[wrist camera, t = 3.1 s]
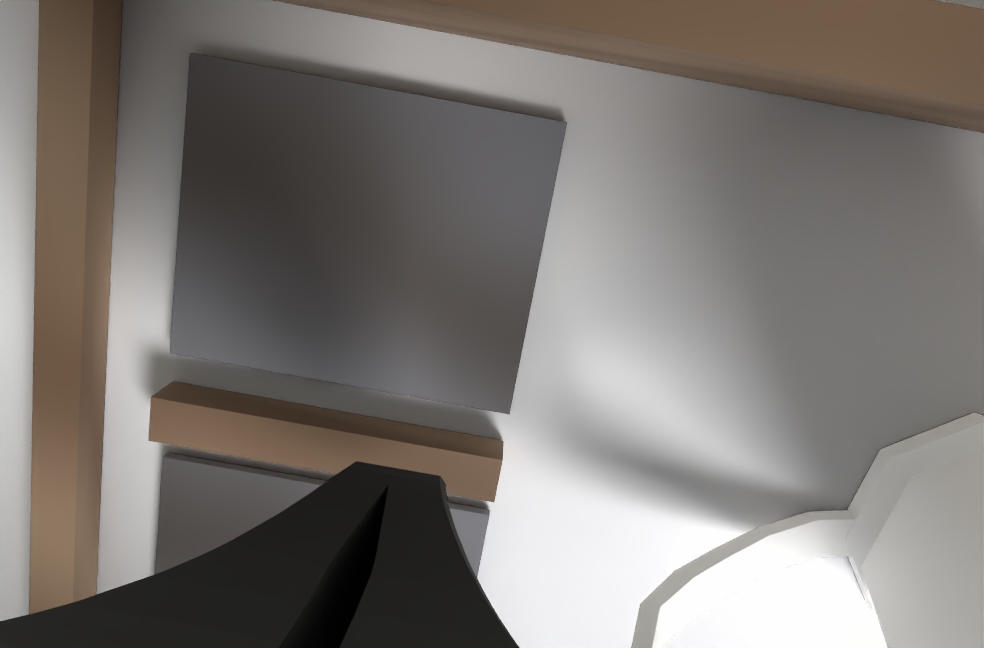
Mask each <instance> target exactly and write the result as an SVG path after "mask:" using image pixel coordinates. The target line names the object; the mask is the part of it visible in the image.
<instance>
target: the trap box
mask: <svg viewBox="0 0 984 648" xmlns="http://www.w3.org/2000/svg"><path fill="white" fill-rule="evenodd" d="M274 1H280V2H285V3H290V4H296V5H301V6H306V7H312V8H317V9H323V10H328V11H333V12H339V13H344V14H349V15H355V16H360V17H365V18H371V19H376V20H382V21H387V22H392V23H398V24H403V25H408V26H414V27H419V28H425V29H430V30H435V31H441V32H446V33H451V34H457V35H462V36H467V37H473V38H478V39H484V40H489V41H494V42H500V43H505V44H510V45H516V46H521V47H526V48H532V49H537V50H543V51H548V52H553V53H559V54H564V55H569V56H575V57H580V58H585V59H591V60H596V61H602V62H607V63H612V64H618V65H623V66H628V67H634V68H639V69H644V70H650V71H655V72H661V73H666V74H671V75H677V76H682V77H687V78H693V79H698V80H704V81H709V82H714V83H720V84H725V85H730V86H736V87H741V88H746V89H752V90H757V91H763V92H768V93H773V94H779V95H784V96H789V97H795V98H800V99H805V100H811V101H816V102H822V103H827V104H832V105H838V106H843V107H848V108H854V109H859V110H864V111H870V112H875V113H881V114H886V115H891V116H897V117H902V118H907V119H913V120H918V121H923V122H929V123H934V124H940V125H945V126H950V127H956V128H961V129H966V130H972V131H977V132H982V133H984V10H983V9H978V8H972V7H967V6H962V5H956V4H951V3H946V2H941V1H935V0H274ZM121 18H122V0H39V51H38V111H37V171H36V232H35V292H34V352H33V412H32V473H31V533H30V593H29V614H33V613H37V612H40V611H44V610H48V609H51V608H55V607H58V606H62V605H66V604H69V603H73V602H76V601H79V600H82V599H85V598H88V597H91V596H94V595H96V589H97V566H98V543H99V520H100V497H101V475H102V452H103V429H104V406H105V383H106V361H107V338H108V315H109V292H110V269H111V246H112V224H113V201H114V178H115V155H116V132H117V110H118V87H119V64H120V41H121ZM566 125H567V122H562V121H557V120H551V119H546V118H541V117H535V116H530V115H524V114H519V113H514V112H508V111H503V110H497V109H492V108H487V107H481V106H476V105H470V104H465V103H460V102H454V101H449V100H443V99H438V98H433V97H427V96H422V95H416V94H411V93H406V92H400V91H395V90H389V89H384V88H379V87H373V86H368V85H362V84H357V83H352V82H346V81H341V80H335V79H330V78H325V77H319V76H314V75H308V74H303V73H298V72H292V71H287V70H281V69H276V68H271V67H265V66H260V65H254V64H249V63H244V62H238V61H233V60H227V59H222V58H217V57H211V56H206V55H200V54H195V53H190V59H189V74H188V88H187V103H186V118H185V133H184V148H183V163H182V178H181V193H180V208H179V222H178V237H177V252H176V267H175V282H174V297H173V312H172V327H171V342H170V353H171V354H177V355H182V356H188V357H194V358H199V359H205V360H210V361H216V362H221V363H227V364H233V365H238V366H244V367H249V368H255V369H260V370H266V371H272V372H277V373H283V374H288V375H294V376H299V377H305V378H310V379H316V380H322V381H327V382H333V383H338V384H344V385H349V386H355V387H361V388H366V389H372V390H377V391H383V392H388V393H394V394H399V395H405V396H411V397H416V398H422V399H427V400H433V401H438V402H444V403H450V404H455V405H461V406H466V407H472V408H477V409H483V410H489V411H494V412H500V413H505V414H509V413H510V408H511V403H512V398H513V393H514V388H515V383H516V378H517V373H518V368H519V363H520V357H521V352H522V347H523V342H524V337H525V332H526V327H527V322H528V317H529V312H530V307H531V302H532V297H533V292H534V287H535V282H536V277H537V272H538V266H539V261H540V256H541V251H542V246H543V241H544V236H545V231H546V226H547V221H548V216H549V211H550V206H551V201H552V196H553V191H554V186H555V181H556V175H557V170H558V165H559V160H560V155H561V150H562V145H563V140H564V135H565V130H566ZM149 441H154V442H159V443H165V444H171V445H176V446H182V447H187V448H193V449H199V450H204V451H210V452H216V453H221V454H227V455H232V456H238V457H244V458H249V459H255V460H260V461H266V462H272V463H277V464H283V465H289V466H294V467H300V468H305V469H311V470H317V471H322V472H328V473H333V474H338V473H339V472H341V471H342V470H344V469H345V468H347V467H348V466H350V465H351V464H353V463H354V462H356V461H359V462H364V463H370V464H376V465H381V466H387V467H393V468H399V469H404V470H410V471H416V472H421V473H427V474H433V475H439V476H441V478H442V479H443V481H444V482H445V483H446V493H447V494H451V495H457V496H463V497H468V498H474V499H479V500H485V501H491V502H494V500H495V495H496V490H497V485H498V480H499V475H500V470H501V465H502V459H503V441H502V440H496V439H491V438H485V437H480V436H474V435H468V434H463V433H457V432H452V431H446V430H440V429H435V428H429V427H424V426H418V425H413V424H407V423H401V422H396V421H390V420H385V419H379V418H374V417H368V416H362V415H357V414H351V413H346V412H340V411H334V410H329V409H323V408H318V407H312V406H307V405H301V404H295V403H290V402H284V401H279V400H273V399H268V398H262V397H256V396H251V395H245V394H240V393H234V392H228V391H223V390H217V389H212V388H206V387H201V386H195V385H189V384H184V383H178V382H171V383H170V384H169V385H167V386H166V387H165V388H163V389H162V390H160V391H159V392H158V393H156V394H155V395H154V396H152V397H151V408H150V425H149ZM325 482H326V481H325V480H319V479H314V478H308V477H303V476H297V475H291V474H286V473H280V472H275V471H269V470H263V469H258V468H252V467H246V466H241V465H235V464H230V463H224V462H218V461H213V460H207V459H201V458H196V457H190V456H185V455H179V454H173V453H167V454H166V455H165V456H163V461H162V475H161V490H160V505H159V520H158V535H157V550H156V565H155V574H158V573H160V572H163V571H165V570H168V569H170V568H172V567H175V566H177V565H179V564H182V563H184V562H186V561H189V560H191V559H193V558H196V557H198V556H200V555H202V554H204V553H207V552H209V551H211V550H213V549H215V548H217V547H219V546H221V545H223V544H225V543H227V542H229V541H231V540H233V539H235V538H237V537H238V536H240V535H242V534H244V533H245V532H247V531H249V530H251V529H252V528H254V527H256V526H258V525H259V524H261V523H263V522H265V521H266V520H268V519H270V518H272V517H274V516H275V515H277V514H279V513H280V512H282V511H283V510H285V509H286V508H288V507H289V506H291V505H292V504H294V503H295V502H297V501H299V500H300V499H302V498H303V497H305V496H306V495H308V494H309V493H311V492H312V491H313V490H315V489H316V488H318V487H319V486H321V485H322V484H324V483H325ZM448 504H449V508H450V512H451V515H452V519H453V522H454V525H455V528H456V531H457V534H458V536H459V539H460V541H461V544H462V546H463V549H464V551H465V554H466V556H467V558H468V561H469V563H470V565H471V567H472V569H473V571H474V573H475V575H476V577H477V575H478V570H479V565H480V560H481V555H482V550H483V545H484V539H485V534H486V529H487V524H488V519H489V512H490V510H488V509H482V508H477V507H471V506H466V505H460V504H454V503H449V502H448Z"/></svg>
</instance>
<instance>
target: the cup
mask: <svg viewBox="0 0 984 648" xmlns="http://www.w3.org/2000/svg"><path fill="white" fill-rule="evenodd" d="M827 557H848V558H849V561H850V563H851V566H852V568H853V571H854V573H855V576H856V578H857V581H858V583H859V586H860V588H861V591H862V593H863V596H864V598H865V601H866V603H867V604H868V605H869V607H870V608H871V610H872V611H873V612H874V614H876V615H877V616H878V619H879V622H880V625H881V628H882V631H883V635H884V638H885V641H886V644H887V647H888V648H984V416H983V415H981V414H978V413H975V412H974V413H972V414H969V415H967V416H964V417H961V418H959V419H956V420H954V421H951V422H949V423H946V424H944V425H941V426H938V427H936V428H933V429H931V430H928V431H926V432H923V433H920V434H918V435H915V436H913V437H910V438H908V439H905V440H902V441H900V442H897V443H895V444H892V445H890V446H887V447H885V448H882V449H880V450H879V452H878V454H877V456H876V458H875V460H874V461H873V463H872V465H871V467H870V469H869V471H868V472H867V474H866V476H865V478H864V480H863V482H862V483H861V485H860V487H859V489H858V491H857V493H856V494H855V496H854V498H853V500H852V502H851V504H850V505H849V507H848V509H847V510H837V511H814V512H805V513H802V514H799V515H796V516H793V517H789V518H786V519H783V520H780V521H777V522H773V523H770V524H767V525H764V526H761V527H757V528H755V529H753V530H751V531H749V532H747V533H745V534H743V535H741V536H739V537H737V538H735V539H733V540H731V541H729V542H727V543H725V544H723V545H721V546H719V547H717V548H715V549H713V550H711V551H709V552H707V553H706V554H704V555H702V556H700V557H699V558H697V559H695V560H693V561H691V562H690V563H688V564H686V565H684V566H682V567H681V568H679V569H677V570H675V571H674V572H673V573H672V574H671V575H670V576H669V577H668V578H667V579H666V580H665V581H664V582H663V583H662V584H660V585H659V586H658V587H657V588H656V589H655V590H654V591H653V592H652V593H651V594H650V595H649V596H648V597H647V598H646V599H645V600H644V601H643V602H642V603H641V604H640V608H639V613H638V618H637V623H636V627H635V632H634V637H633V642H632V647H631V648H663V647H664V646H665V645H666V644H667V643H668V642H669V641H670V640H671V639H672V638H673V637H674V636H675V635H676V634H677V633H679V632H680V631H681V630H682V629H683V628H684V627H685V626H686V625H687V624H688V623H689V622H690V621H691V620H692V619H693V618H695V617H696V616H698V615H700V614H701V613H703V612H704V611H706V610H707V609H709V608H711V607H712V606H714V605H715V604H717V603H718V602H720V601H721V600H723V599H725V598H726V597H728V596H730V595H731V594H733V593H735V592H737V591H738V590H740V589H742V588H744V587H745V586H747V585H749V584H751V583H752V582H754V581H756V580H758V579H759V578H761V577H763V576H765V575H766V574H769V573H772V572H775V571H778V570H781V569H784V568H787V567H789V566H792V565H795V564H798V563H801V562H804V561H807V560H810V559H813V558H827Z"/></svg>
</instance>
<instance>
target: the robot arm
mask: <svg viewBox="0 0 984 648" xmlns="http://www.w3.org/2000/svg"><path fill="white" fill-rule="evenodd" d="M0 648H519V646H518V645H517V644H516V642H515V641H514V640H513V638H512V637H511V635H510V634H509V632H508V631H507V629H506V628H505V626H504V625H503V623H502V622H501V620H500V619H499V617H498V615H497V614H496V612H495V610H494V609H493V607H492V605H491V604H490V602H489V600H488V598H487V597H486V595H485V593H484V591H483V589H482V587H481V585H480V583H479V581H478V579H477V577H476V575H475V573H474V571H473V569H472V567H471V565H470V563H469V561H468V558H467V556H466V554H465V551H464V549H463V546H462V544H461V541H460V539H459V536H458V534H457V531H456V528H455V525H454V522H453V519H452V515H451V512H450V508H449V504H448V500H447V493H446V483H445V482H444V481H443V479H442V478H441V476H439V475H433V474H427V473H421V472H416V471H410V470H404V469H399V468H393V467H387V466H381V465H376V464H370V463H364V462H359V461H356V462H354V463H353V464H351V465H350V466H348V467H347V468H345V469H344V470H342V471H341V472H339V473H338V474H336V475H335V476H333V477H332V478H331V479H329V480H328V481H326V482H325V483H324V484H322V485H321V486H319V487H318V488H316V489H315V490H313V491H312V492H311V493H309V494H308V495H306V496H305V497H303V498H302V499H300V500H299V501H297V502H295V503H294V504H292V505H291V506H289V507H288V508H286V509H285V510H283V511H282V512H280V513H279V514H277V515H275V516H274V517H272V518H270V519H268V520H266V521H265V522H263V523H261V524H259V525H258V526H256V527H254V528H252V529H251V530H249V531H247V532H245V533H244V534H242V535H240V536H238V537H237V538H235V539H233V540H231V541H229V542H227V543H225V544H223V545H221V546H219V547H217V548H215V549H213V550H211V551H209V552H207V553H204V554H202V555H200V556H198V557H196V558H193V559H191V560H189V561H186V562H184V563H182V564H179V565H177V566H175V567H172V568H170V569H168V570H165V571H163V572H160V573H158V574H155V575H153V576H150V577H147V578H144V579H141V580H138V581H135V582H132V583H129V584H126V585H123V586H121V587H118V588H115V589H112V590H109V591H106V592H103V593H100V594H97V595H94V596H91V597H88V598H85V599H82V600H79V601H76V602H73V603H69V604H66V605H62V606H58V607H55V608H51V609H48V610H44V611H40V612H37V613H33V614H29V615H25V616H21V617H17V618H13V619H9V620H5V621H0Z"/></svg>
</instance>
